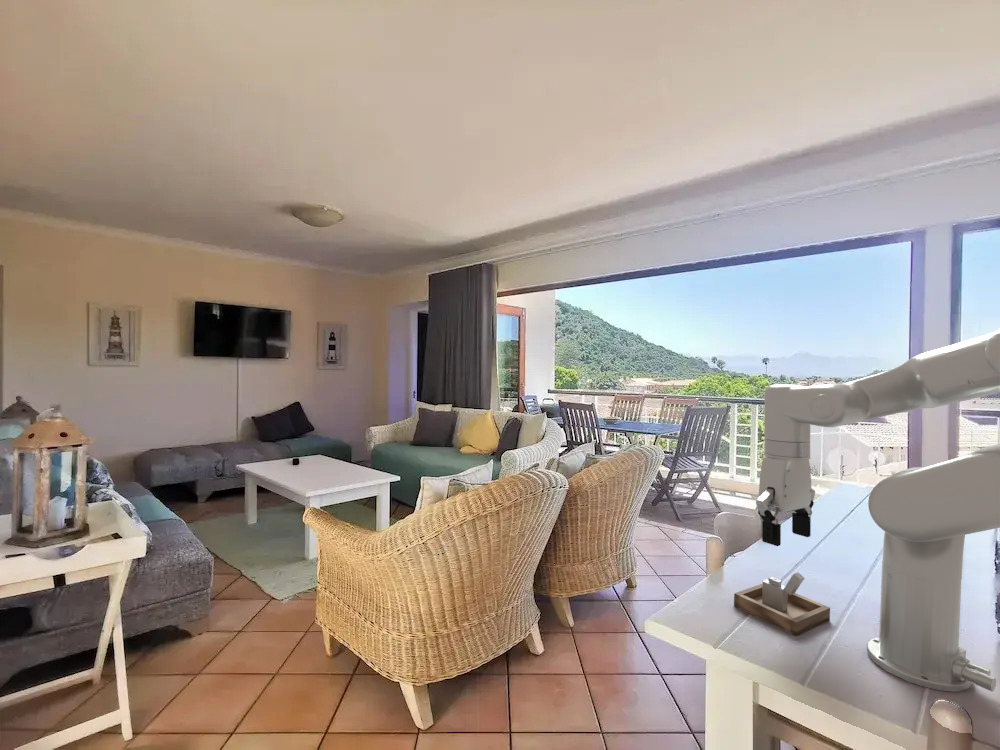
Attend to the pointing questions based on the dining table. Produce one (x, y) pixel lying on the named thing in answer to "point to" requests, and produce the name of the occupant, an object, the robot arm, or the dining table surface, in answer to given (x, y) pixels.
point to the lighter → (780, 591)
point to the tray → (793, 620)
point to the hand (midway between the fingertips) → (786, 539)
